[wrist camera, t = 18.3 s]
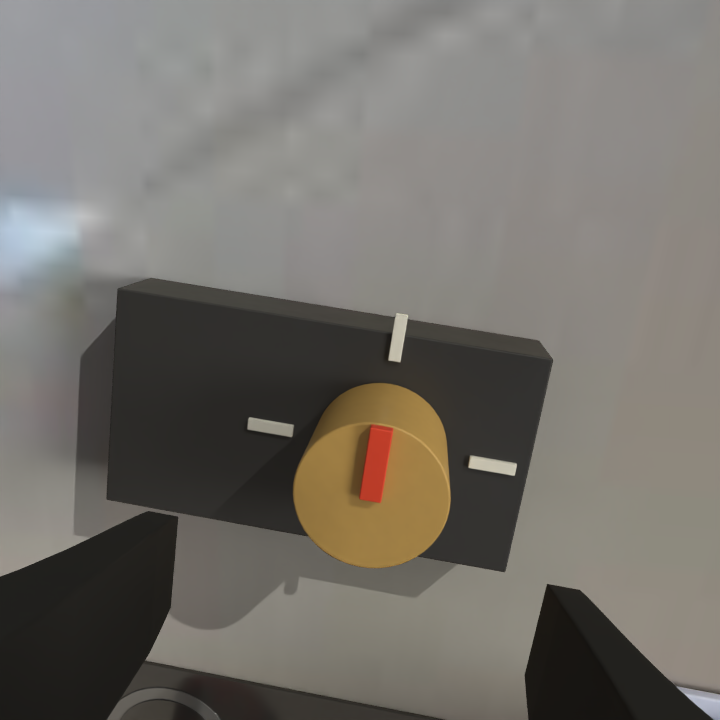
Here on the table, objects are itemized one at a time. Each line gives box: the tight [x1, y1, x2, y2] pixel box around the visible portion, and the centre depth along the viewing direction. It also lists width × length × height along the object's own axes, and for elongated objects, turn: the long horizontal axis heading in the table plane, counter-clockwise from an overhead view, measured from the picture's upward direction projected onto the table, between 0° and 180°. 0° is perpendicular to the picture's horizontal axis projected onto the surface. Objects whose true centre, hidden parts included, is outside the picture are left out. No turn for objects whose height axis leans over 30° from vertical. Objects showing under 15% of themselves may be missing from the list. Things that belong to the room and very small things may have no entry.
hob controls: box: [107, 278, 553, 572], centre depth 22 cm, size 13×8×3 cm, turn 81°
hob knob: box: [293, 383, 451, 568], centre depth 19 cm, size 4×4×4 cm
